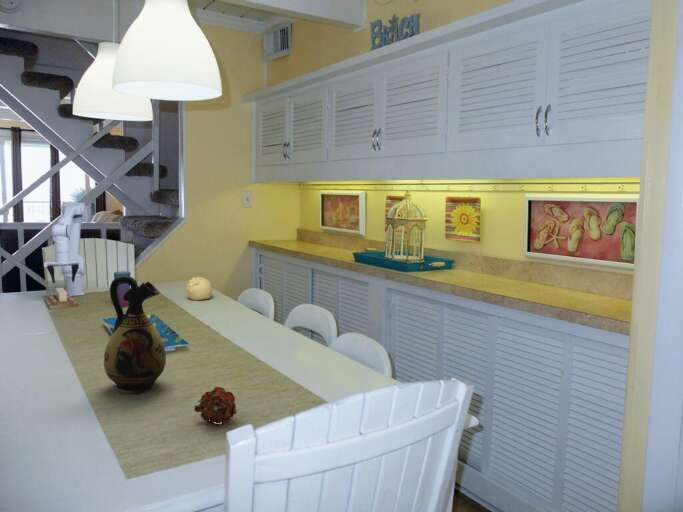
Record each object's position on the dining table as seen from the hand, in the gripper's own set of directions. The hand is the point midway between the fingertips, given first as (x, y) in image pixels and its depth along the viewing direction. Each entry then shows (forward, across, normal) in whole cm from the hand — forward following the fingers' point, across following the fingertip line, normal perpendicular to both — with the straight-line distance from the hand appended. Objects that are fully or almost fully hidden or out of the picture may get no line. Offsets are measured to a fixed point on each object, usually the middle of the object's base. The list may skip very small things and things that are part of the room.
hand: (63, 282), depth 241 cm
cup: (+10, +21, -18) cm, 29 cm away
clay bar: (+8, -1, -1) cm, 9 cm away
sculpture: (+10, +55, -19) cm, 59 cm away
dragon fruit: (+9, +13, -150) cm, 151 cm away
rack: (+9, -1, -1) cm, 9 cm away
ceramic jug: (+9, +2, -119) cm, 119 cm away
